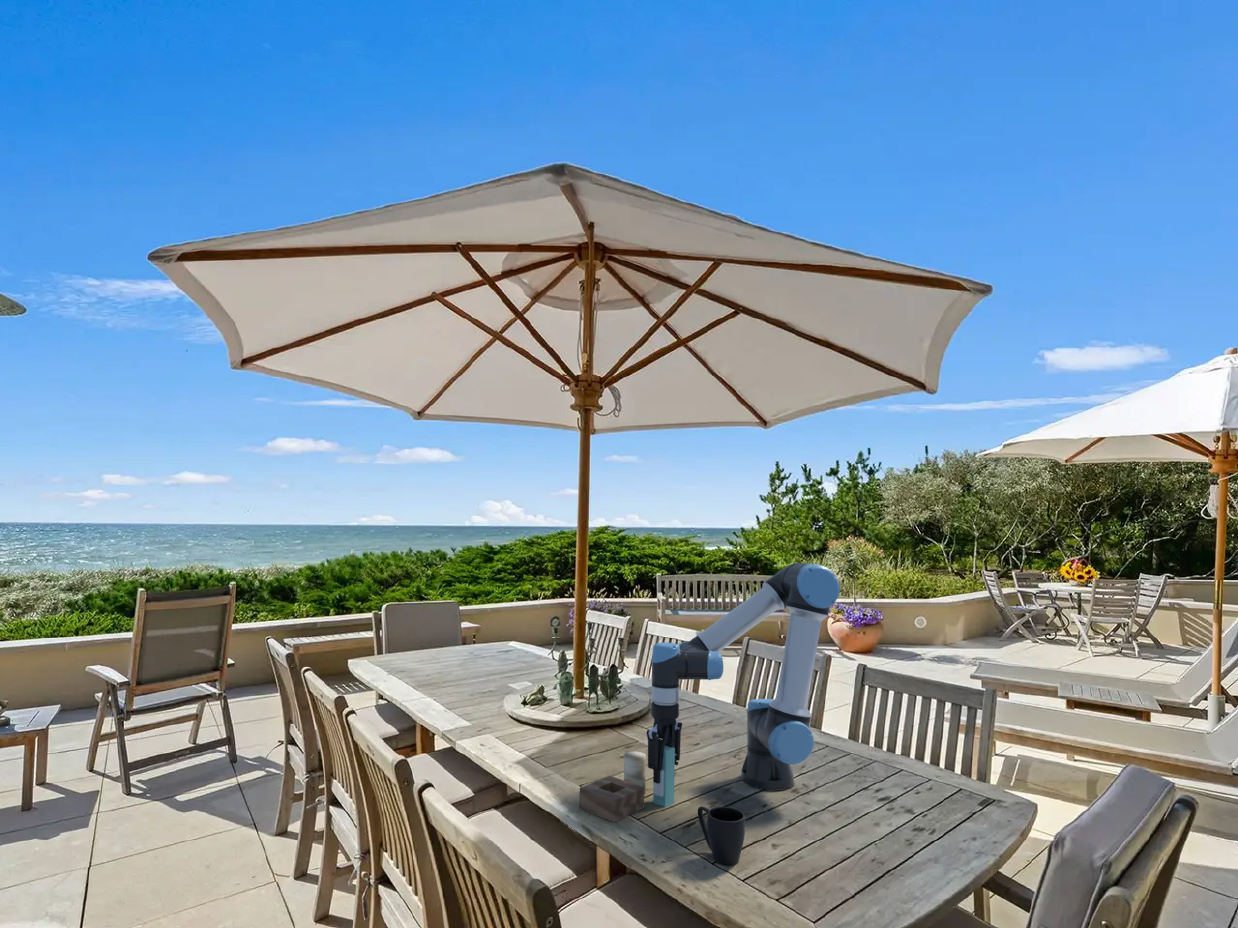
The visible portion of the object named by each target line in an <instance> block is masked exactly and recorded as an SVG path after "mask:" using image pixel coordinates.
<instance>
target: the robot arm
mask: <svg viewBox="0 0 1238 928" xmlns="http://www.w3.org/2000/svg"><path fill="white" fill-rule="evenodd" d="M840 589H841V588H840V583H839V580H838V577H837V576H836V574H835V573H834V572H833V571H832V570H831V569H830V568H828V567H826V566H824V565H820V564H815V563H803V562H795V563H792V564H789V565H786V566H784V567H783V568H782V569H780V570H779V571H778V572H777V573H775V574H774V575H772V576H771V577H770V578H768V579H767V580H766V581H764V582H763V583H762V588H760V589H759V590H758V591H757V592H755V593H754V594H753V595H751V596H749V597H748V598H747V599H746V600H744V601H743V602H741V603H740V604H739V605H737V606H736V607H734V608H733V609H732V610H730V611H729V612H728V613H727V614H726V613H725V615H724V616H722V617H721V618H719V619H718V620H717V621H715V622H714V623H712V624H711V625H710V626H709V627H707V628H706V629H704V630H703V631H701V632H700V633H698V634H697V635H696V636H694V637H693V638H692V639H690V640H689V641H688V640H687V641H682V642H681V643H678V644H677V643H674V642H657V643H655V644H654V645H653V647H652V654H651V655H652V657H651V700H652V701H651V703H650V705H651V707H650V711H651V712H650V716H651V717H652V718H653V719H654V721H653V723H652V724H653V726H652V728H651V729H650V730H649V729H647V731H646V733H645V734H646V739H647V768H649V769H651V770H653V771H652V773H653V774H652V775H653V779H652V780H653V782H654V794H655V795H658V796H661V797H663V794H664V770H662V764H663V756H664V748H665V746H668V747H673V748H675V766H678V765H679V761H680V760H681V739H682V737H681V735H682V733H681V732H682V728H683V723H682V722H680V721H677V719H678V718H679V716H680V704H679V702H680V680H683V681H684V680H700V681H701V680H703V681H704V680H708V681H711V680H719V679H721V678H722V676H723V674H724V659H723V656H722V653H721V651H722V650H724V649H726V648H728V646H729V645H730V644H732V643H733V642H735V641H737V640H738V639H739V638H740V637H742V636H743V635H745V634H746V633H747V632H748V631H750V630H751V629H753V628H754V627H755V626H757V625H758V624H759V623H761V622H762V621H764V620H765V619H766V618H768V617H769V616H771V615H772V614H773V613H774V612H776V611H777V610H785V609H787V610H788V612H789V620H788V627H787V632H786V639H785V642H784V648H783V649H784V651H783V653H782V654H783V655H782V662H781V666H780V673H779V677H778V684H777V689H776V695H775V698H755V699H751V700H749V701H748V703H747V709H746V716H747V717H746V720H747V721H746V724H747V725H746V726H747V727H746V730H747V733H746V735H747V736H746V737H747V738H746V739H747V741H746V743H747V745H746V746H747V749H746V751H747V752H746V755H745V757H744V761H743V764H742V768H741V777H740V779H741V781H742V782H743V783H744V784H745V785H748V786H750V787H752V788H755V789H760V790H764V791H784V790H789V789H791V788H792V787H794V784H795V774H794V772H793V768H792V765H798V764H800V763H803V762H805V760H807V759H808V758H809V757H810V756H811V754H812V752H813V749H814V747H815V745H814V744H815V738H814V735H813V732H812V730H811V729H810V726H811V722H812V721H811V720H812V714H811V711H809V709H808V702H809V696H810V690H811V684H812V679H813V673H814V668H815V661H816V656H817V649H818V644H819V639H820V632H821V626H822V621H824V620H825V619H826V618H828V617H829V614H830V608H831V606H832V605H833V604H835V603H836V602H837V600H838V598H839V596H840Z"/></svg>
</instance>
